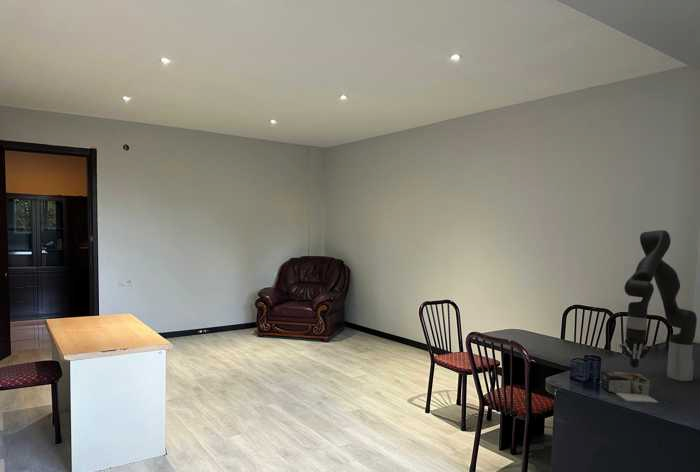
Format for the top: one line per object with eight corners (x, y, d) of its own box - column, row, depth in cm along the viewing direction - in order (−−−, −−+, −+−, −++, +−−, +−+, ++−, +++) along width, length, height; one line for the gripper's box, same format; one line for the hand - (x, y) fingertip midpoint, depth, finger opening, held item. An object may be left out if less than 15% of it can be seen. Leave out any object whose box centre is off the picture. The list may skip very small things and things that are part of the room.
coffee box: (650, 380, 202) (609, 377, 204) (648, 395, 202) (608, 391, 204) (639, 373, 211) (601, 370, 213) (638, 387, 211) (599, 384, 213)
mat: (627, 384, 217) (627, 383, 217) (657, 402, 195) (657, 401, 195) (599, 383, 217) (599, 381, 217) (627, 401, 195) (627, 400, 195)
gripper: (646, 325, 209) (644, 365, 209) (616, 324, 209) (613, 363, 209) (657, 329, 201) (654, 370, 202) (626, 328, 201) (623, 369, 202)
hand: (633, 367), depth 206 cm, fingers closed
